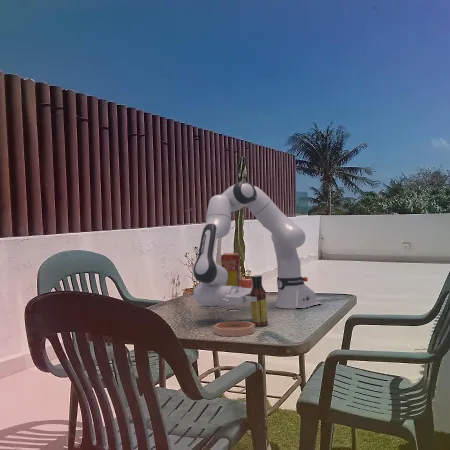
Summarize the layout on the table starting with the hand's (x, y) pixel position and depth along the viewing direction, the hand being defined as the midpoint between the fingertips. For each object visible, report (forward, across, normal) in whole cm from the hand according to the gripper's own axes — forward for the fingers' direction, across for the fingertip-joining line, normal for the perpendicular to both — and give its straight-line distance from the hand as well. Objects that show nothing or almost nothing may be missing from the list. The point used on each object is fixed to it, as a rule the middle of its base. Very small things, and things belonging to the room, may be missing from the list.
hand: (260, 297), depth 194 cm
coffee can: (-40, +32, +11) cm, 52 cm away
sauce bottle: (-1, 0, +11) cm, 11 cm away
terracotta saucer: (-6, -14, +11) cm, 19 cm away
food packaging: (-38, +50, +11) cm, 64 cm away
